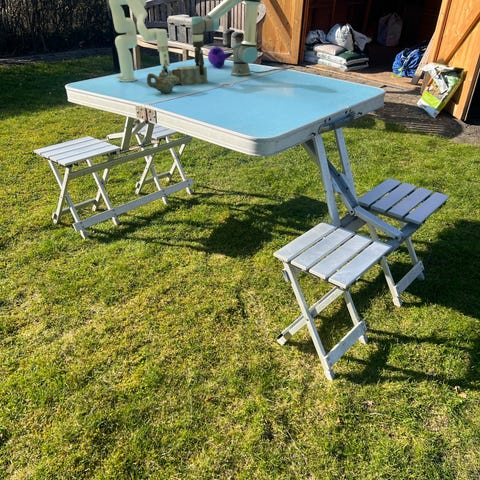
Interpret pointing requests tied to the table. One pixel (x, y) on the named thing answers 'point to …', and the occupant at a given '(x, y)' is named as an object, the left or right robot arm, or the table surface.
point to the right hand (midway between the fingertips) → (199, 73)
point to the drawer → (176, 73)
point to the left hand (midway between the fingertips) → (165, 76)
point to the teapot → (162, 81)
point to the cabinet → (192, 75)
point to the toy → (218, 56)
